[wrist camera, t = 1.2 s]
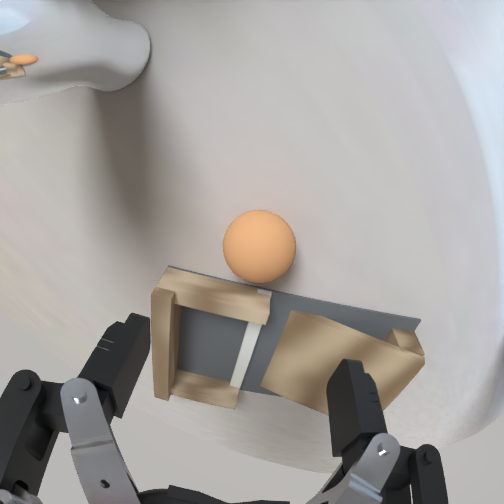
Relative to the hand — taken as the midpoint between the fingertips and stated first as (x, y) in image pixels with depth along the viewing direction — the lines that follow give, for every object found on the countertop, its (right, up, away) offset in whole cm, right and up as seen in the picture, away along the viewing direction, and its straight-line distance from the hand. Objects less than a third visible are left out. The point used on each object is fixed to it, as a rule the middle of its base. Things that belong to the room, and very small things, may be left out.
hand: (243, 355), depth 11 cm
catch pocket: (-4, -5, +17) cm, 18 cm away
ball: (+1, +5, +9) cm, 10 cm away
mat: (+4, -6, +17) cm, 19 cm away
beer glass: (-10, +19, +5) cm, 22 cm away
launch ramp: (+9, -8, +17) cm, 21 cm away
